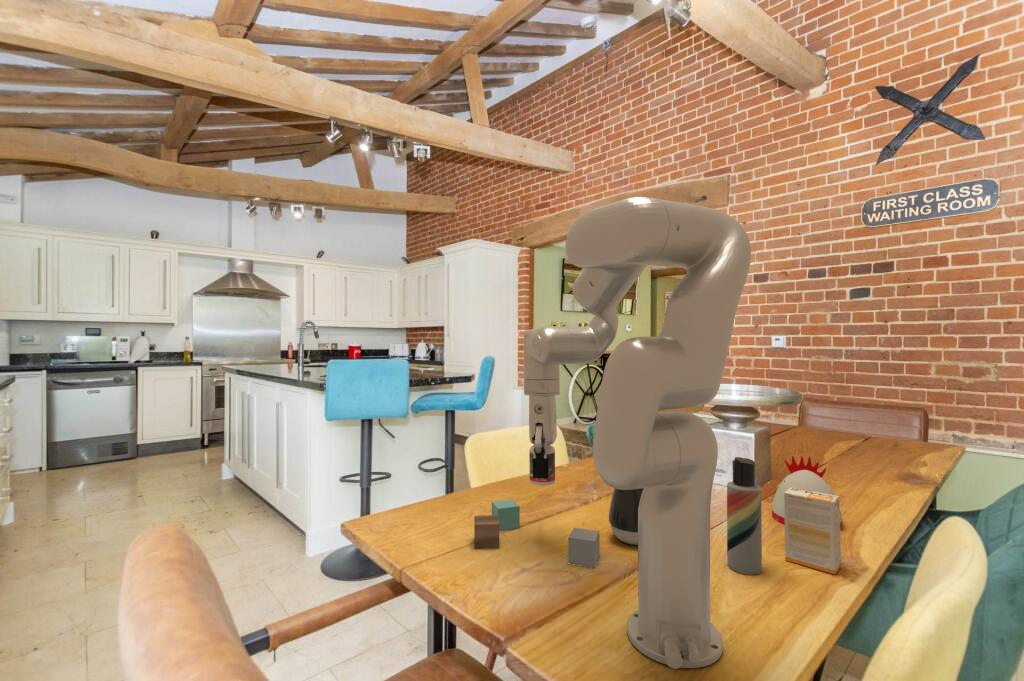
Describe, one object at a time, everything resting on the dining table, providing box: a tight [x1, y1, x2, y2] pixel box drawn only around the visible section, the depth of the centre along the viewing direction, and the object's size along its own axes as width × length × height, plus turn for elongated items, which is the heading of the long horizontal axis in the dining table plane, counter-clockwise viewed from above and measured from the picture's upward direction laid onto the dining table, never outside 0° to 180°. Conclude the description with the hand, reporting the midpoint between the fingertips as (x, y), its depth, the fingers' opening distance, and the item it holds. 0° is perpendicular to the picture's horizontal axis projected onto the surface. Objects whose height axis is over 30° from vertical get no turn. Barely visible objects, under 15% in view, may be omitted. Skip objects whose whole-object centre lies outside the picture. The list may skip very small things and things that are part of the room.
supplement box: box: [784, 487, 842, 575], centre depth 88 cm, size 8×5×13 cm, turn 44°
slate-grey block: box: [567, 527, 601, 569], centre depth 90 cm, size 5×5×5 cm
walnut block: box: [473, 514, 500, 550], centre depth 97 cm, size 5×5×5 cm
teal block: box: [491, 498, 521, 532], centre depth 107 cm, size 5×5×5 cm
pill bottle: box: [528, 437, 556, 487], centre depth 99 cm, size 5×5×10 cm
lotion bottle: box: [726, 456, 763, 575], centre depth 87 cm, size 6×6×20 cm
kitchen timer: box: [771, 455, 844, 531], centre depth 110 cm, size 14×14×15 cm
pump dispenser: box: [608, 488, 644, 546], centre depth 99 cm, size 10×10×15 cm
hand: (542, 473), depth 99 cm, fingers closed on pill bottle, 5 cm apart
